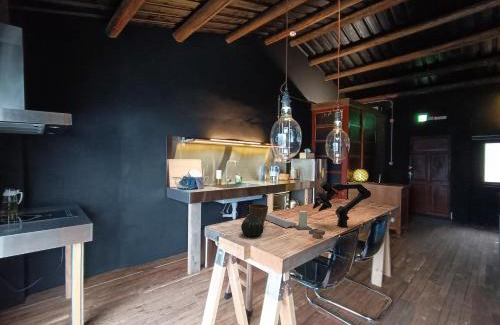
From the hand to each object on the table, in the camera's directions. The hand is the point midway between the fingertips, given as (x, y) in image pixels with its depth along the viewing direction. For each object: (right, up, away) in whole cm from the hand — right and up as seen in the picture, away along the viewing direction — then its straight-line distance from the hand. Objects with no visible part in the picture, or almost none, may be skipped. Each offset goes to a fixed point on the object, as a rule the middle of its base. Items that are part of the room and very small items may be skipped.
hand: (315, 209), depth 193 cm
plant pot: (-45, -13, -2) cm, 47 cm away
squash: (-50, -13, -24) cm, 57 cm away
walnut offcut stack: (-5, -14, -24) cm, 29 cm away
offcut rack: (-3, -14, -16) cm, 21 cm away
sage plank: (-11, -13, -3) cm, 17 cm away
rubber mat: (-11, -13, -3) cm, 17 cm away
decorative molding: (-28, -12, +12) cm, 33 cm away
